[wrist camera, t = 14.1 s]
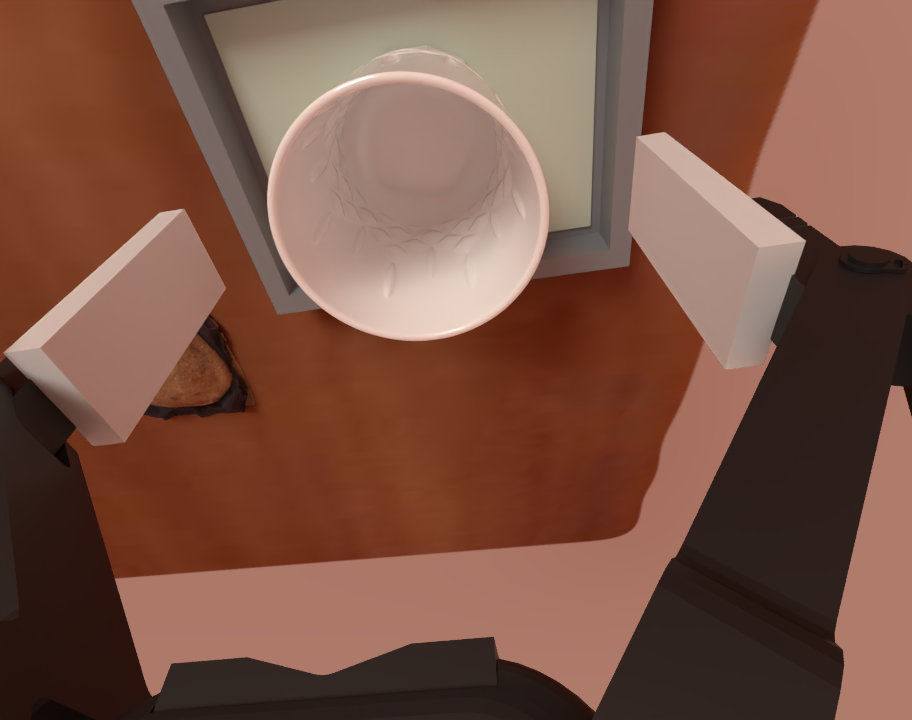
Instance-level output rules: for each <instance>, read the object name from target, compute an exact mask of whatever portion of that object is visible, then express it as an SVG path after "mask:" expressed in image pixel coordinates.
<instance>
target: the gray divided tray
mask: <svg viewBox="0 0 912 720" xmlns="http://www.w3.org/2000/svg"><path fill="white" fill-rule="evenodd" d="M132 2H133V4H134V7H135V9H136V11H137V13H138V15H139V17H140V20H141V22H142V24H143V26H144V28H145V30H146V32H147V35H148V37H149V39H150V41H151V43H152V45H153V47H154V50H155V52H156V54H157V56H158V58H159V60H160V63H161V65H162V67H163V69H164V71H165V73H166V75H167V78H168V80H169V82H170V84H171V86H172V88H173V91H174V93H175V95H176V97H177V99H178V101H179V103H180V106H181V108H182V110H183V112H184V114H185V116H186V119H187V121H188V123H189V125H190V127H191V129H192V131H193V134H194V136H195V138H196V140H197V142H198V144H199V147H200V149H201V151H202V153H203V155H204V157H205V159H206V162H207V164H208V166H209V168H210V170H211V172H212V175H213V177H214V179H215V181H216V183H217V185H218V187H219V190H220V192H221V194H222V196H223V198H224V200H225V202H226V205H227V207H228V209H229V211H230V213H231V215H232V218H233V220H234V222H235V224H236V226H237V228H238V230H239V233H240V235H241V237H242V239H243V241H244V243H245V246H246V248H247V250H248V252H249V254H250V256H251V258H252V261H253V263H254V265H255V267H256V269H257V271H258V274H259V276H260V278H261V280H262V282H263V284H264V286H265V289H266V291H267V293H268V295H269V297H270V299H271V302H272V304H273V306H274V308H275V310H276V312H277V314H278V315H279V314H286V313H293V312H300V311H308V310H315V309H322V308H321V307H320V306H318V305H317V304H316V303H315V302H314V301H313V300H312V299H311V298H310V297H309V296H308V295H307V294H306V293H305V292H304V291H303V290H302V289H301V288H300V287H299V285H298V284H297V283H296V281H295V280H294V279H293V277H292V276H291V274H290V273H289V271H288V270H287V268H286V266H285V265H284V263H283V261H282V259H281V257H280V255H279V253H278V250H277V248H276V245H275V242H274V239H273V236H272V232H271V228H270V224H269V218H268V208H267V190H268V181H269V175H270V170H271V166H272V163H273V160H274V157H275V154H276V151H277V149H278V147H279V145H280V143H281V141H282V139H283V137H284V135H285V134H286V132H287V130H288V129H289V128H290V126H291V125H292V123H293V122H294V121H295V120H296V118H297V117H298V116H299V115H300V114H301V113H302V112H303V111H304V110H305V109H306V108H307V107H308V106H309V105H310V104H311V103H312V102H314V101H315V100H316V99H317V98H319V97H320V96H322V95H323V94H324V93H326V92H327V91H328V90H330V89H331V88H332V87H334V86H335V85H336V84H337V83H339V82H340V81H341V80H342V79H344V78H345V77H347V76H348V75H349V74H351V73H352V72H353V71H354V70H356V69H357V68H358V67H360V66H361V65H363V64H365V63H367V62H369V61H371V60H372V59H374V58H376V57H378V56H380V55H383V54H385V53H387V52H388V51H389V50H395V49H402V48H409V47H416V46H422V45H429V46H431V47H434V48H437V49H439V50H442V51H444V52H447V53H449V54H452V55H454V56H457V57H459V58H462V59H464V61H465V62H466V63H467V64H468V65H469V66H470V67H471V68H472V69H473V70H474V71H476V72H477V73H478V74H479V75H480V76H481V77H482V78H483V79H484V80H485V81H486V82H487V84H488V85H489V86H490V87H491V88H492V90H493V91H494V92H495V93H496V94H497V95H498V97H499V98H500V99H501V101H502V102H503V103H504V105H505V107H506V108H507V110H508V111H509V113H510V114H511V116H512V118H513V119H514V121H515V122H516V124H517V125H518V127H519V128H520V130H521V131H522V133H523V134H524V136H525V137H526V138H527V140H528V142H529V143H530V145H531V147H532V148H533V150H534V152H535V154H536V156H537V158H538V161H539V163H540V166H541V168H542V171H543V174H544V178H545V182H546V186H547V191H548V198H549V229H548V235H547V240H546V244H545V248H544V251H543V255H542V257H541V260H540V262H539V265H538V267H537V269H536V271H535V273H534V275H533V276H532V278H531V279H539V278H546V277H553V276H560V275H568V274H575V273H582V272H589V271H596V270H604V269H611V268H618V267H625V266H629V263H630V252H631V242H632V235H631V233H630V232H629V230H628V228H629V216H630V205H631V193H632V182H633V170H634V158H635V147H636V137H637V136H641V132H642V122H643V111H644V100H645V89H646V78H647V67H648V56H649V45H650V34H651V23H652V13H653V2H654V0H132Z"/></svg>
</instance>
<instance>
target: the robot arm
mask: <svg viewBox="0 0 912 720" xmlns="http://www.w3.org/2000/svg"><path fill="white" fill-rule="evenodd" d="M628 230H629V232H630V233H631V235H632V236H633V238H634V239H635V240H636V242H637V243H638V245H639V246H640V248H641V249H642V251H643V252H644V253H645V255H646V256H647V258H648V259H649V261H650V262H651V264H652V265H653V267H654V268H655V269H656V271H657V272H658V274H659V275H660V277H661V278H662V280H663V281H664V282H665V284H666V285H667V287H668V288H669V290H670V291H671V293H672V294H673V296H674V297H675V298H676V300H677V301H678V303H679V304H680V306H681V307H682V309H683V310H684V311H685V313H686V314H687V316H688V317H689V319H690V320H691V322H692V323H693V324H694V326H695V327H696V329H697V330H698V332H699V333H700V335H701V336H702V338H703V339H704V340H705V342H706V343H707V345H708V346H709V348H710V349H711V351H712V352H713V353H714V355H715V356H716V358H717V359H718V361H719V362H720V364H721V365H722V366H723V368H724V369H725V370H726V369H734V368H743V367H751V366H759V365H764V362H765V359H766V356H767V353H768V350H769V347H770V345H771V342H772V341H773V343H774V344H775V345H776V346H777V347H776V349H775V352H774V354H773V356H772V358H771V360H770V362H769V364H768V366H767V368H766V371H765V372H764V375H763V377H762V379H761V381H760V383H759V385H758V387H757V389H756V391H755V393H754V396H753V398H752V400H751V402H750V404H749V406H748V408H747V410H746V413H745V414H744V417H743V419H742V421H741V423H740V425H739V427H738V429H737V431H736V433H735V435H734V438H733V440H732V442H731V444H730V446H729V448H728V450H727V452H726V454H725V456H724V459H723V461H722V463H721V465H720V467H719V469H718V471H717V473H716V476H715V477H714V480H713V482H712V484H711V486H710V488H709V490H708V492H707V494H706V496H705V498H704V500H703V503H702V505H701V507H700V509H699V511H698V513H697V516H696V517H695V519H694V521H693V524H692V526H691V528H690V530H689V532H688V534H687V536H686V538H685V541H684V542H683V544H682V547H681V548H680V550H679V552H678V554H677V556H676V557H675V558H672V559H671V561H670V562H669V564H668V565H667V567H666V569H665V571H664V573H663V575H662V577H661V579H660V580H659V582H658V584H657V587H656V589H655V591H654V593H653V595H652V597H651V599H650V601H649V603H648V605H647V607H646V609H645V611H644V613H643V615H642V617H641V620H640V622H639V624H638V626H637V628H636V630H635V632H634V634H633V636H632V638H631V640H630V642H629V644H628V646H627V648H626V650H625V653H624V655H623V657H622V659H621V661H620V663H619V665H618V667H617V669H616V671H615V673H614V675H613V677H612V679H611V681H610V683H609V686H608V687H607V690H606V692H605V694H604V696H603V698H602V700H601V702H600V704H599V706H598V708H597V710H596V712H595V711H594V710H592V709H591V708H590V707H589V706H588V705H587V704H586V703H585V702H584V701H583V700H582V699H580V698H579V697H578V696H577V695H576V694H574V693H573V692H571V691H570V690H569V689H567V688H566V687H565V686H563V685H562V684H560V683H559V682H557V681H556V680H554V679H552V678H550V677H548V676H546V675H544V674H543V673H541V672H539V671H537V670H534V669H531V668H529V667H526V666H524V665H521V664H519V663H515V662H510V661H506V660H502V659H499V657H498V653H497V649H496V645H495V640H494V637H486V638H474V639H462V640H450V641H438V642H426V643H415V644H409V645H407V646H404V647H402V648H399V649H396V650H394V651H391V652H388V653H386V654H383V655H380V656H378V657H375V658H372V659H370V660H367V661H364V662H362V663H359V664H356V665H354V666H351V667H348V668H346V669H343V670H340V671H338V672H335V673H332V674H329V675H316V674H311V673H307V672H304V671H300V670H295V669H291V668H287V667H284V666H280V665H275V664H271V663H268V662H264V661H259V660H255V659H251V658H247V657H246V658H234V659H223V660H211V661H199V662H187V663H174V664H171V666H170V669H169V671H168V674H167V677H166V679H165V682H164V685H163V687H162V690H161V692H160V693H159V694H157V695H155V696H153V697H152V696H151V695H150V693H149V691H148V688H147V686H146V683H145V680H144V677H143V673H142V670H141V666H140V663H139V660H138V656H137V653H136V650H135V646H134V643H133V639H132V636H131V632H130V629H129V626H128V622H127V619H126V616H125V612H124V609H123V605H122V602H121V599H120V595H119V592H118V589H117V585H116V582H115V578H114V575H113V572H112V568H111V565H110V562H109V558H108V555H107V551H106V548H105V545H104V541H103V538H102V535H101V531H100V528H99V524H98V521H97V518H96V514H95V511H94V508H93V504H92V501H91V497H90V494H89V491H88V487H87V484H86V481H85V477H84V474H83V470H82V467H81V464H80V460H79V457H78V453H77V452H76V451H75V450H74V449H73V448H72V447H71V446H70V445H69V444H68V443H67V442H66V440H67V439H68V438H69V436H70V435H71V434H72V433H73V431H74V430H75V429H77V430H78V431H79V432H80V433H81V434H82V435H83V436H84V437H85V438H86V440H87V441H88V442H89V443H90V444H91V445H92V446H101V445H109V444H117V443H125V441H126V440H127V438H128V437H129V435H130V434H131V432H132V431H133V429H134V428H135V426H136V425H137V423H138V422H139V420H140V419H141V417H142V416H143V414H144V413H145V411H146V410H147V408H148V406H149V405H150V403H151V402H152V400H153V399H154V397H155V396H156V394H157V393H158V391H159V390H160V388H161V387H162V385H163V384H164V382H165V381H166V379H167V378H168V376H169V375H170V373H171V372H172V370H173V368H174V367H175V365H176V364H177V362H178V361H179V359H180V358H181V356H182V355H183V353H184V352H185V350H186V349H187V347H188V346H189V344H190V343H191V341H192V340H193V338H194V337H195V335H196V333H197V332H198V330H199V329H200V327H201V326H202V324H203V323H204V321H205V320H206V318H207V317H208V315H209V314H210V312H211V311H212V309H213V308H214V306H215V305H216V303H217V302H218V300H219V298H220V297H221V295H222V294H223V292H224V291H225V289H226V287H225V285H224V283H223V282H222V280H221V278H220V276H219V274H218V272H217V270H216V268H215V266H214V264H213V263H212V261H211V259H210V257H209V255H208V253H207V251H206V249H205V247H204V245H203V244H202V242H201V240H200V238H199V236H198V234H197V232H196V230H195V228H194V226H193V225H192V223H191V221H190V219H189V217H188V215H187V213H186V211H185V209H180V210H173V211H167V212H161V213H159V214H158V215H157V216H156V217H154V218H153V219H152V220H151V221H150V222H149V223H148V224H147V225H145V226H144V227H143V228H142V229H141V230H140V231H139V232H138V233H137V234H135V235H134V236H133V237H132V238H131V239H130V240H129V241H128V242H126V243H125V244H124V245H123V246H122V247H121V248H120V249H119V250H118V251H116V252H115V253H114V254H113V255H112V256H111V257H110V258H109V259H107V260H106V261H105V262H104V263H103V264H102V265H101V266H100V267H99V268H97V269H96V270H95V271H94V272H93V273H92V274H91V275H90V276H88V277H87V278H86V279H85V280H84V281H83V282H82V283H81V284H80V285H78V286H77V287H76V288H75V289H74V290H73V291H72V292H71V293H70V294H68V295H67V296H66V297H65V298H64V299H63V300H62V301H61V302H59V303H58V304H57V305H56V306H55V307H54V308H53V309H52V310H51V311H49V312H48V313H47V314H46V315H45V316H44V317H43V318H42V319H40V320H39V321H38V322H37V323H36V324H35V325H34V326H33V327H32V328H30V329H29V330H28V331H27V332H26V333H25V334H24V335H23V336H21V337H20V338H19V339H18V340H17V341H16V342H15V343H14V344H13V345H11V346H10V347H9V348H8V349H7V350H6V351H5V352H4V353H3V354H4V355H5V356H6V358H5V359H4V360H3V361H2V362H1V363H0V720H835V715H836V710H837V705H838V700H839V695H840V690H841V683H842V676H843V669H844V660H843V659H844V658H843V650H842V649H841V648H840V647H839V646H838V645H837V644H836V643H835V635H834V634H835V628H836V622H837V617H838V613H839V608H840V604H841V600H842V596H843V591H844V587H845V583H846V578H847V574H848V570H849V565H850V561H851V556H852V552H853V547H854V543H855V539H856V534H857V530H858V526H859V522H860V517H861V513H862V509H863V504H864V500H865V495H866V491H867V487H868V482H869V478H870V474H871V469H872V465H873V461H874V456H875V452H876V448H877V443H878V439H879V435H880V430H881V426H882V421H883V417H884V413H885V408H886V404H887V399H888V395H889V391H890V387H891V385H894V386H903V387H904V391H905V394H906V398H907V402H908V405H909V409H910V412H911V416H912V262H911V261H909V260H908V259H907V258H906V257H904V256H901V255H899V254H897V253H894V252H892V251H889V250H885V249H880V248H876V247H869V246H856V245H853V246H838V245H837V244H836V243H834V242H833V241H831V240H830V239H829V238H827V237H826V236H824V235H823V234H822V233H820V232H819V231H817V230H816V229H815V228H813V227H812V226H807V223H806V222H805V221H803V220H802V219H801V218H799V217H796V215H795V214H794V213H792V212H791V211H789V210H788V209H787V208H785V207H784V206H783V205H781V204H778V203H775V202H772V201H769V200H766V199H763V198H761V197H758V198H752V199H751V198H750V197H748V196H747V195H746V194H744V193H743V192H742V191H741V190H739V189H738V188H737V187H735V186H734V185H733V184H731V183H730V182H729V181H728V180H726V179H725V178H724V177H722V176H721V175H720V174H719V173H717V172H716V171H715V170H713V169H712V168H711V167H709V166H708V165H707V164H706V163H704V162H703V161H702V160H700V159H699V158H698V157H697V156H695V155H694V154H693V153H691V152H690V151H689V150H687V149H686V148H685V147H684V146H682V145H681V144H680V143H678V142H677V141H676V140H674V139H673V138H672V137H671V136H669V135H668V134H667V133H665V132H662V133H656V134H650V135H644V136H637V137H636V147H635V158H634V170H633V182H632V193H631V205H630V216H629V228H628Z"/></svg>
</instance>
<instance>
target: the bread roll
mask: <svg viewBox="0 0 912 720" xmlns="http://www.w3.org/2000/svg"><path fill="white" fill-rule="evenodd" d="M226 341H227V339H226V338H225V337H224V335H223V333H222V332H220V331H219V326H218V324H217V323H216V322H215V321H214V320H213V319H211V318H210V317H209V315H208V317H207V318H206V320H205V321H204V323H203V324H202V326H201V327H200V329H199V330H198V332H197V333H196V335H195V337H194V338H193V340H192V341H191V343H190V344H189V346H188V347H187V349H186V350H185V352H184V353H183V355H182V356H181V358H180V359H179V361H178V362H177V364H176V365H175V367H174V368H173V370H172V372H171V373H170V375H169V376H168V378H167V379H166V381H165V382H164V384H163V385H162V387H161V388H160V390H159V391H158V393H157V394H156V396H155V397H154V399H153V400H152V402H151V403H150V405H149V406H148V408H147V410H146V411H145V413H144V414H143V415H148V416H151V417H157V418H163V419H164V420H168V419H170V418H172V417H173V416H178V415H186V414H187V415H189V414H197V415H199V416H200V417H206V416H210V415H213V414H216V413H235V412H236V413H237V412H240V411H241V412H245V408H246V406H250V405H254V404H255V401H254V396H253V393H252V392H251V389H250V386H249V385H248V383H247V381H246V377H245V376H244V374H243V372H242V369H241V367H240V365H239V364H238V362H237V361H236V360H235V357H234V356H233V354H232V352H231V351H230V348H229V347H228V346H227V344H225V342H226Z"/></svg>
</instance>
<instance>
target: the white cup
mask: <svg viewBox="0 0 912 720" xmlns="http://www.w3.org/2000/svg"><path fill="white" fill-rule="evenodd" d="M267 208H268V218H269V224H270V228H271V232H272V236H273V239H274V242H275V245H276V248H277V250H278V253H279V255H280V257H281V259H282V261H283V263H284V265H285V266H286V268H287V270H288V271H289V273H290V274H291V276H292V277H293V279H294V280H295V281H296V283H297V284H298V285H299V287H300V288H301V289H302V290H303V291H304V292H305V293H306V294H307V295H308V296H309V297H310V298H311V299H312V300H313V301H314V302H315V303H316V304H317V305H318V306H320V307H321V308H322V309H323V310H325V311H326V312H327V313H329V314H330V315H332V316H333V317H335V318H336V319H338V320H340V321H342V322H343V323H345V324H347V325H349V326H351V327H353V328H356V329H358V330H361V331H363V332H366V333H369V334H372V335H376V336H379V337H384V338H388V339H394V340H403V341H428V340H437V339H443V338H448V337H452V336H455V335H459V334H462V333H465V332H467V331H470V330H472V329H474V328H476V327H479V326H481V325H482V324H484V323H486V322H488V321H489V320H491V319H493V318H494V317H495V316H497V315H498V314H500V313H501V312H502V311H503V310H505V309H506V308H507V307H508V306H509V305H510V304H511V303H512V302H513V301H514V300H515V299H516V298H517V297H518V296H519V295H520V294H521V292H522V291H523V290H524V288H525V287H526V286H527V284H528V283H529V281H530V280H531V278H532V276H533V275H534V273H535V271H536V269H537V267H538V265H539V262H540V260H541V257H542V255H543V251H544V248H545V244H546V240H547V235H548V229H549V198H548V191H547V186H546V182H545V178H544V174H543V171H542V168H541V166H540V163H539V161H538V158H537V156H536V154H535V152H534V150H533V148H532V147H531V145H530V143H529V142H528V140H527V138H526V137H525V136H524V134H523V133H522V131H521V130H520V128H519V127H518V125H517V124H516V122H515V121H514V119H513V118H512V116H511V114H510V113H509V111H508V110H507V108H506V107H505V105H504V103H503V102H502V101H501V99H500V98H499V97H498V95H497V94H496V93H495V92H494V91H493V90H492V88H491V87H490V86H489V85H488V84H487V82H486V81H485V80H484V79H483V78H482V77H481V76H480V75H479V74H478V73H477V72H476V71H474V70H473V69H472V68H471V67H470V66H469V65H468V64H467V63H466V62H465V61H464V59H462V58H459V57H457V56H454V55H452V54H449V53H447V52H444V51H442V50H439V49H437V48H434V47H431V46H429V45H422V46H416V47H409V48H402V49H395V50H389V51H388V52H387V53H385V54H383V55H380V56H378V57H376V58H374V59H372V60H371V61H369V62H367V63H365V64H363V65H361V66H360V67H358V68H357V69H356V70H354V71H353V72H352V73H351V74H349V75H348V76H347V77H345V78H344V79H342V80H341V81H340V82H339V83H337V84H336V85H335V86H334V87H332V88H331V89H330V90H328V91H327V92H326V93H324V94H323V95H322V96H320V97H319V98H317V99H316V100H315V101H314V102H312V103H311V104H310V105H309V106H308V107H307V108H306V109H305V110H304V111H303V112H302V113H301V114H300V115H299V116H298V117H297V118H296V120H295V121H294V122H293V123H292V125H291V126H290V128H289V129H288V130H287V132H286V134H285V135H284V137H283V139H282V141H281V143H280V145H279V147H278V149H277V151H276V154H275V157H274V160H273V163H272V166H271V170H270V175H269V181H268V190H267Z"/></svg>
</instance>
